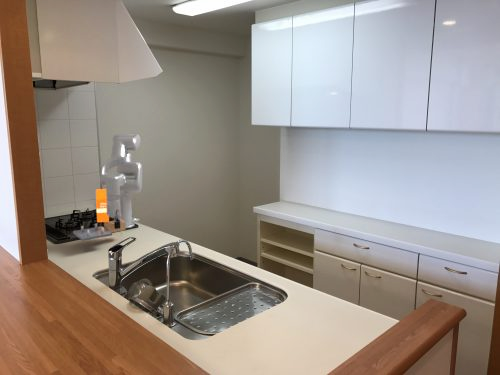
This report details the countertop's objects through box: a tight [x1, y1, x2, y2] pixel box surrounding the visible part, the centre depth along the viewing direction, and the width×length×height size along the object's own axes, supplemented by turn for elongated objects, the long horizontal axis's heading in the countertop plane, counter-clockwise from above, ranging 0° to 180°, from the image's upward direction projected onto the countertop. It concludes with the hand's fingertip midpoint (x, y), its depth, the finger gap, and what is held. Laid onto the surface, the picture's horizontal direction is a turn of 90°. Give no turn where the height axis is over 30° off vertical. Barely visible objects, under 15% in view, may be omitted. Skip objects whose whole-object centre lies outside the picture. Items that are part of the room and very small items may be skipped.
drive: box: [103, 220, 126, 234], centre depth 238 cm, size 10×6×5 cm, turn 129°
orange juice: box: [95, 188, 110, 223], centre depth 256 cm, size 8×9×20 cm
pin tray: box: [72, 222, 113, 242], centre depth 226 cm, size 16×16×4 cm
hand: (114, 226), depth 238 cm, fingers open, 7 cm apart
